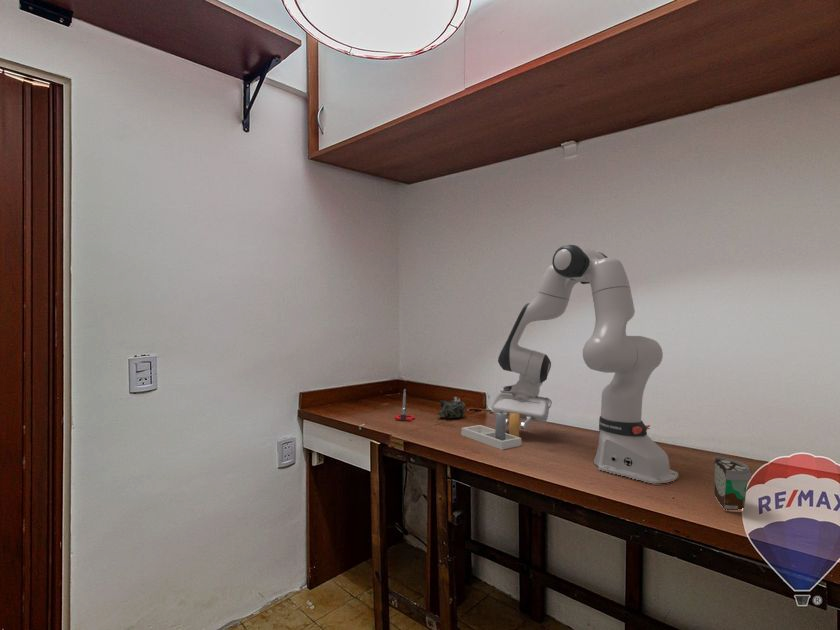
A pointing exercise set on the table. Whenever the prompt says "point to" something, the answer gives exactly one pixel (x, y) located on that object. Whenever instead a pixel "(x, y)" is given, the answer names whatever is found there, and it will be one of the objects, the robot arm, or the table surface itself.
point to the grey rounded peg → (500, 426)
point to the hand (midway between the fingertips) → (513, 426)
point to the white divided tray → (490, 437)
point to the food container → (730, 482)
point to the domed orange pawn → (514, 424)
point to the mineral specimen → (452, 409)
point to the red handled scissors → (404, 411)
